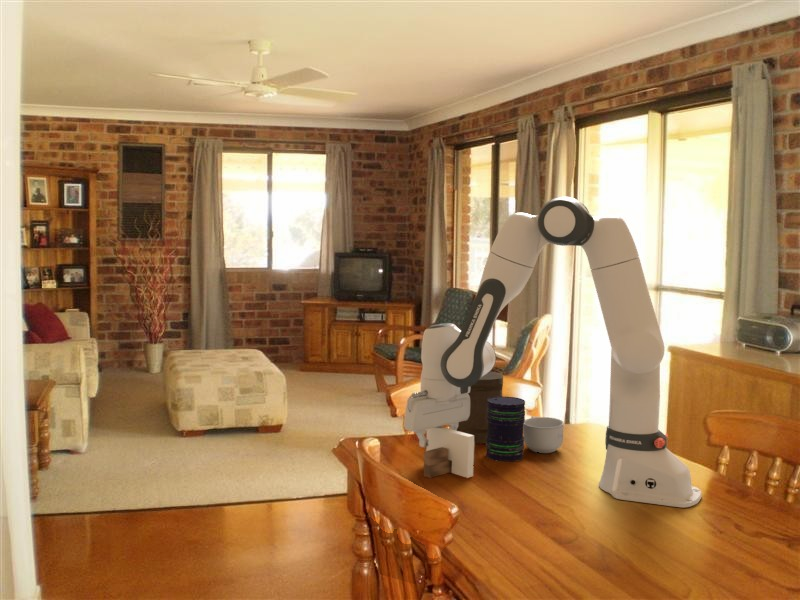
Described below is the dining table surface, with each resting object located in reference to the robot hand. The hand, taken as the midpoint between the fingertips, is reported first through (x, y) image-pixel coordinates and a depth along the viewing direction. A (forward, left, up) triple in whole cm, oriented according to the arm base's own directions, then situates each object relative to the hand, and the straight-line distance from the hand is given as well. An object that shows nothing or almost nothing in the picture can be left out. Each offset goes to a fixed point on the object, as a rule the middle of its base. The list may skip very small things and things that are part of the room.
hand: (437, 443), depth 204 cm
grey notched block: (-4, +1, -6) cm, 7 cm away
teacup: (-15, -31, -6) cm, 35 cm away
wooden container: (+5, -31, -6) cm, 32 cm away
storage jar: (-10, -18, -6) cm, 21 cm away
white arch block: (-4, +1, -6) cm, 7 cm away
